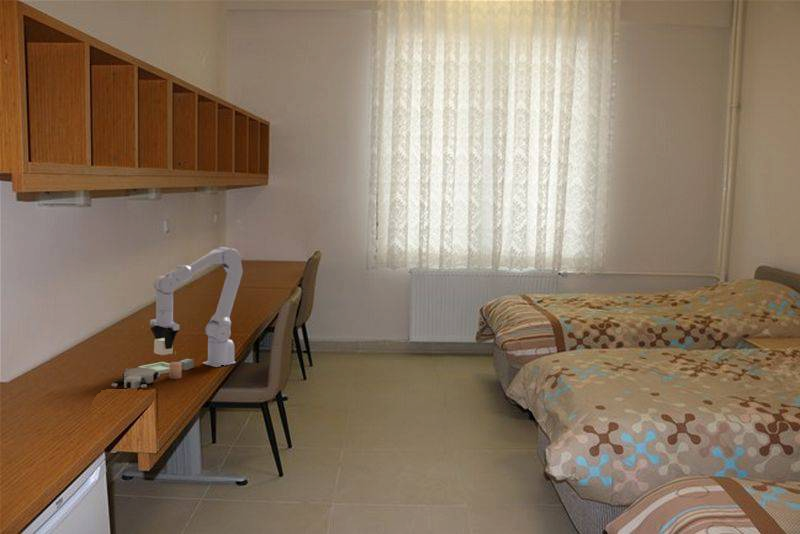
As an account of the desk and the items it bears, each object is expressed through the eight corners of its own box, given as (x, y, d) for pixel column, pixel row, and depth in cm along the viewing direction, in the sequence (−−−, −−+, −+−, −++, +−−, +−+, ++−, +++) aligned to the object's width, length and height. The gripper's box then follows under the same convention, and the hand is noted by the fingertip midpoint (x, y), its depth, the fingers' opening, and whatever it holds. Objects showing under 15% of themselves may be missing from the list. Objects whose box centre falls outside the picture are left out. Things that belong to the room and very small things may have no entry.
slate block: (186, 366, 262) (186, 358, 261) (193, 367, 261) (193, 359, 260) (178, 369, 257) (178, 361, 257) (185, 370, 256) (185, 362, 256)
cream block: (165, 351, 256) (165, 337, 256) (172, 353, 253) (172, 339, 253) (154, 353, 252) (154, 339, 252) (161, 355, 250) (161, 341, 249)
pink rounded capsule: (176, 375, 249) (176, 361, 248) (183, 377, 246) (183, 363, 246) (167, 377, 246) (167, 363, 245) (173, 379, 243) (173, 365, 243)
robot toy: (147, 395, 227) (163, 380, 242) (146, 382, 226) (163, 367, 241) (109, 394, 227) (127, 378, 242) (108, 380, 226) (127, 365, 241)
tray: (162, 365, 261) (162, 361, 261) (179, 370, 255) (179, 366, 255) (138, 370, 253) (138, 366, 253) (154, 375, 247) (154, 371, 247)
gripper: (142, 308, 253) (142, 345, 254) (167, 313, 244) (167, 352, 246) (159, 306, 258) (159, 343, 260) (184, 311, 250) (184, 349, 251)
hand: (164, 347), depth 253 cm, fingers closed on cream block, 4 cm apart
